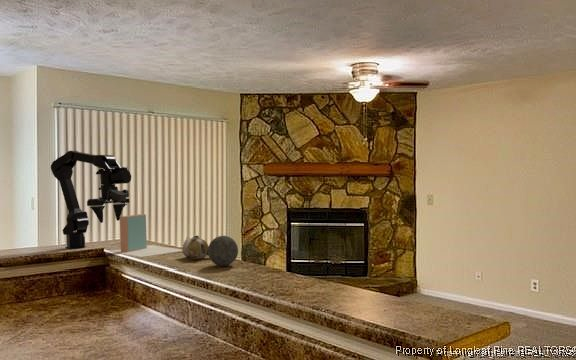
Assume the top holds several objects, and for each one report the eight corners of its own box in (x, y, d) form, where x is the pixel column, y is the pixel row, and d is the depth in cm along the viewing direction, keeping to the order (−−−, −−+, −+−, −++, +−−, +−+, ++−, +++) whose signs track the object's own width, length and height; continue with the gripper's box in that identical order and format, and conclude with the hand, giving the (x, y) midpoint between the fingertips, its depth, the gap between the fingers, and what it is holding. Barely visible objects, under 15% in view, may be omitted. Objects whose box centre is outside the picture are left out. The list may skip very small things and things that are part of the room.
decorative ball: (214, 269, 166) (213, 238, 166) (204, 265, 175) (203, 235, 175) (243, 266, 170) (242, 236, 170) (232, 262, 179) (231, 233, 179)
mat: (141, 258, 192) (141, 257, 192) (107, 252, 210) (107, 250, 210) (186, 251, 206) (186, 250, 206) (150, 246, 224) (150, 245, 224)
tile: (120, 251, 206) (119, 216, 206) (140, 247, 216) (139, 214, 216) (128, 252, 205) (126, 216, 204) (147, 248, 215) (146, 214, 214)
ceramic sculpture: (199, 231, 198) (221, 237, 187) (199, 254, 199) (221, 260, 187) (174, 234, 191) (195, 240, 180) (174, 257, 192) (195, 265, 180)
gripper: (105, 184, 206) (107, 223, 206) (138, 182, 223) (140, 219, 223) (85, 185, 211) (87, 224, 211) (118, 184, 228) (120, 219, 228)
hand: (110, 221), depth 218 cm, fingers open, 9 cm apart
